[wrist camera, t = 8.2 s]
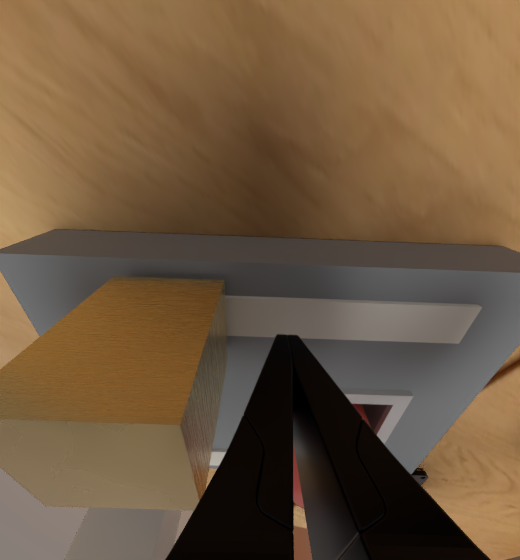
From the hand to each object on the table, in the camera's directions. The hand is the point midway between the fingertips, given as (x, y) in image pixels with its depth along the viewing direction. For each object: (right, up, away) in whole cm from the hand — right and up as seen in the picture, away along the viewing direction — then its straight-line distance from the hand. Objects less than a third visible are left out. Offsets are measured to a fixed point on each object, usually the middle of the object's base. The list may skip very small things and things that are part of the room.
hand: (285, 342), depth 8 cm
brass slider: (-4, +1, +1) cm, 4 cm away
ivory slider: (-8, -10, +7) cm, 15 cm away
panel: (0, -3, +7) cm, 8 cm away
